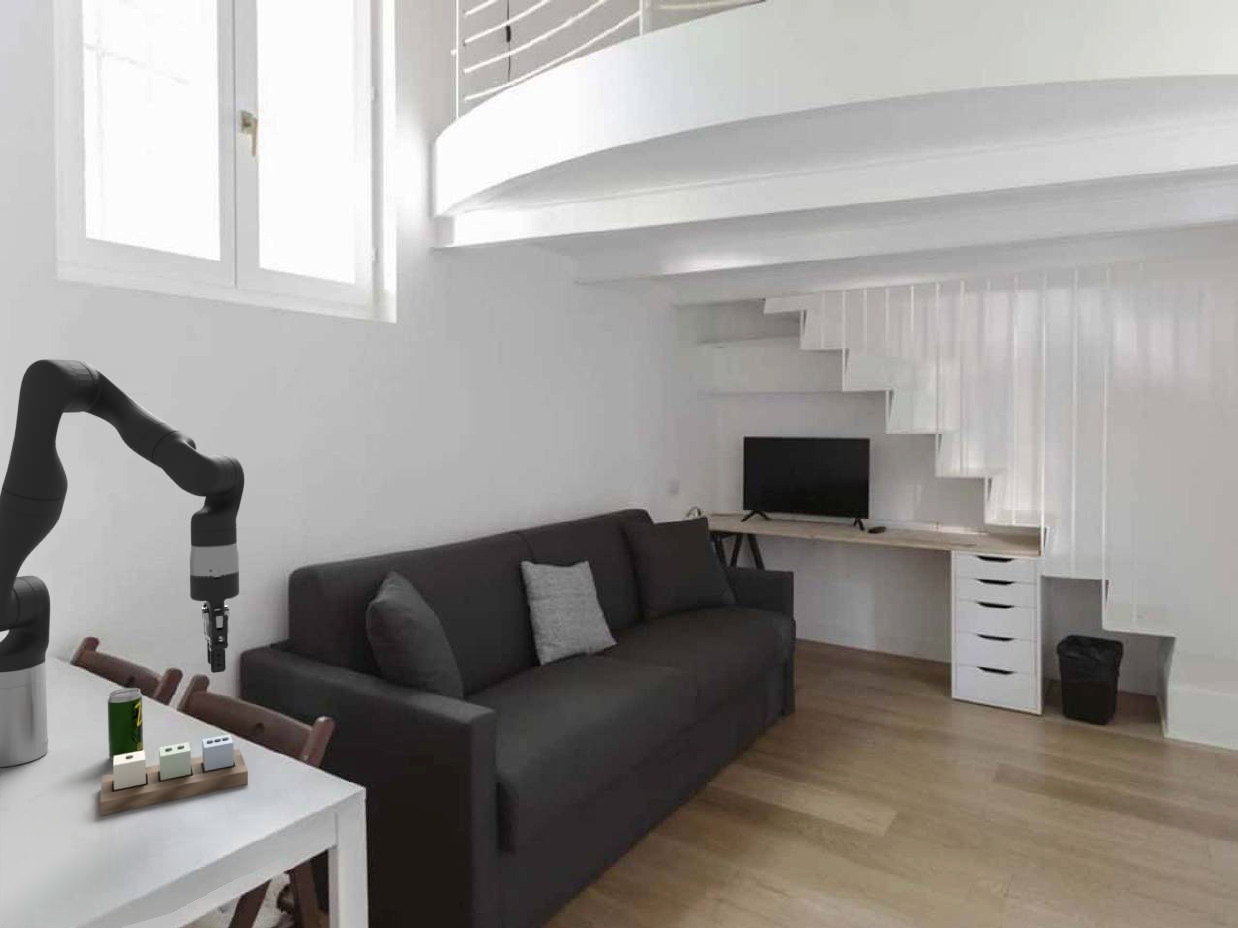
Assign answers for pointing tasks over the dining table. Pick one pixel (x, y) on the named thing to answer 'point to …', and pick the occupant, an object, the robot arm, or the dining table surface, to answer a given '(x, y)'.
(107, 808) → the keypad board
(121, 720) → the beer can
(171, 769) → the two dot key
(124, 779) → the one dot key
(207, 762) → the three dot key
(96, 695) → the dining table surface
